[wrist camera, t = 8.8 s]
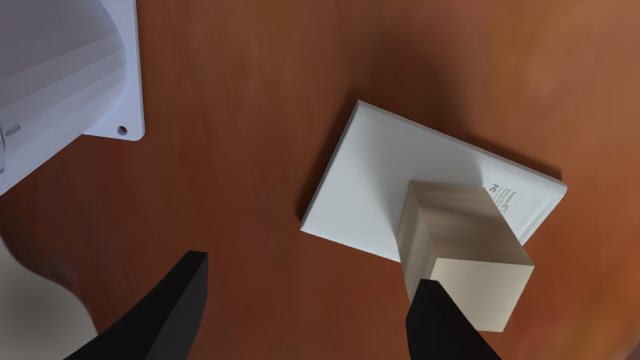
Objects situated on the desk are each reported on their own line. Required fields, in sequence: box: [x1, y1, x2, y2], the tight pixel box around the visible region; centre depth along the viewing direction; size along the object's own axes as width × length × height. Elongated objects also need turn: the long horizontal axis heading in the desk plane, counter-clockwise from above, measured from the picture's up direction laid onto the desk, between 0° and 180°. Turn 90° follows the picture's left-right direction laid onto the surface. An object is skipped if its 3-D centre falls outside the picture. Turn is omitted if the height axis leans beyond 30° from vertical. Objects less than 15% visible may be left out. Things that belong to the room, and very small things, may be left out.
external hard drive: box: [300, 100, 567, 262], centre depth 23 cm, size 2×8×12 cm
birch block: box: [396, 180, 535, 332], centre depth 20 cm, size 4×4×6 cm
